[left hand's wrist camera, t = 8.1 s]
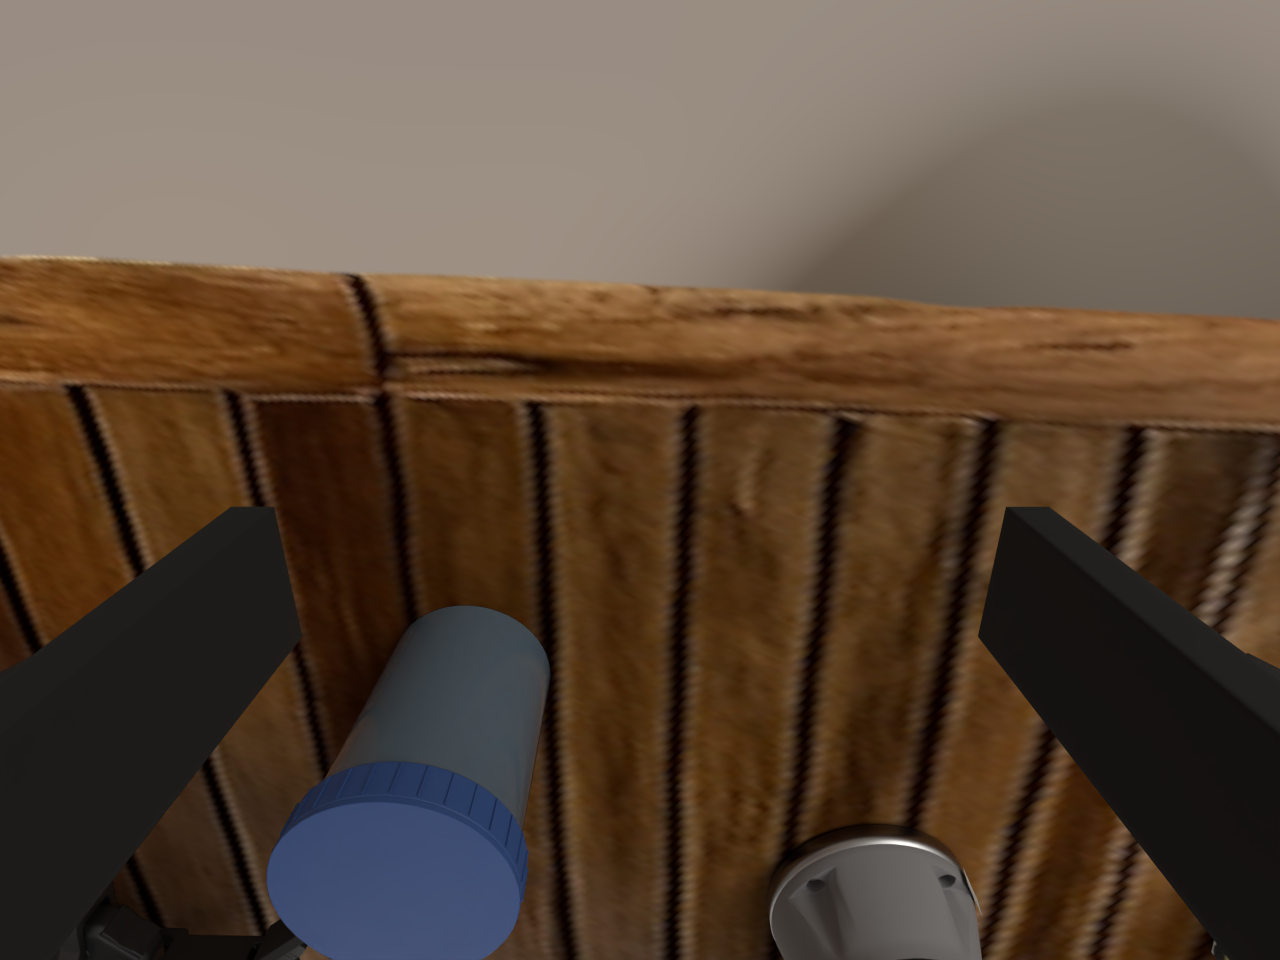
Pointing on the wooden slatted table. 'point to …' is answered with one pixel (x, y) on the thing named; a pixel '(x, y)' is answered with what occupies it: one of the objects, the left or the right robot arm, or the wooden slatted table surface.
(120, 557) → the wooden slatted table surface
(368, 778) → the lid
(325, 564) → the wooden slatted table surface
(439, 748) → the jar
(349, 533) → the wooden slatted table surface
